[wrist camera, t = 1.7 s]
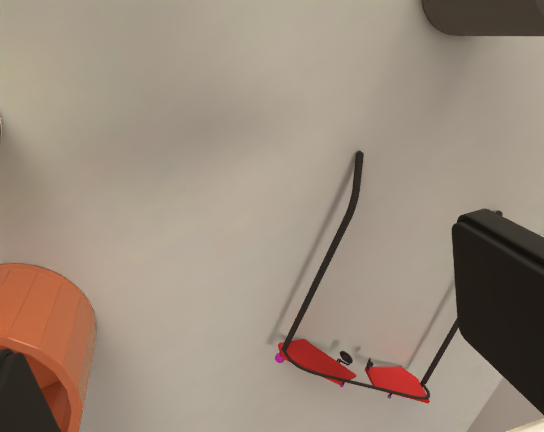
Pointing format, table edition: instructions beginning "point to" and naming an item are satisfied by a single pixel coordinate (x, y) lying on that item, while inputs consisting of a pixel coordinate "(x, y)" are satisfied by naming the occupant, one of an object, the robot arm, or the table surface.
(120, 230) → the table surface
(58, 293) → the cup
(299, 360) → the glasses
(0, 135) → the supplement bottle
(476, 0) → the bottle
